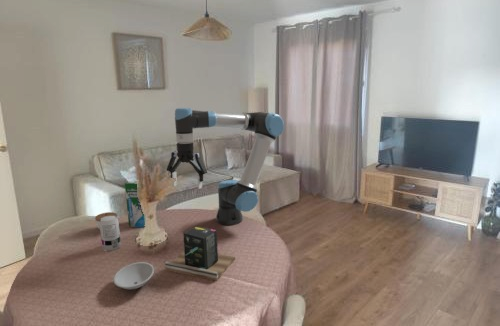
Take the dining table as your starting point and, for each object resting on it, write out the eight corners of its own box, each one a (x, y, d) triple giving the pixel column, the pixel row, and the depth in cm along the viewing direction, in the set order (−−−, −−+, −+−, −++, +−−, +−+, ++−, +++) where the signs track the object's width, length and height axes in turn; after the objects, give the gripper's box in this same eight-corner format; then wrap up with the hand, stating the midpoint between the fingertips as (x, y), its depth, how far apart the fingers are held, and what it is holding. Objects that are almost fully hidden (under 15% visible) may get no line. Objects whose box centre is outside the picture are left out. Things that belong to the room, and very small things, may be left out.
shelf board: (188, 250, 155) (187, 243, 155) (235, 259, 147) (235, 252, 146) (165, 269, 139) (164, 262, 138) (216, 280, 130) (216, 273, 130)
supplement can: (98, 250, 157) (95, 220, 153) (111, 242, 164) (108, 214, 161) (112, 253, 154) (108, 222, 150) (124, 245, 161) (121, 216, 158)
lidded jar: (103, 224, 186) (102, 209, 184) (121, 225, 184) (120, 209, 182) (92, 232, 175) (90, 216, 173) (111, 233, 174) (109, 217, 172)
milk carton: (151, 220, 190) (147, 178, 185) (144, 227, 182) (140, 183, 176) (136, 220, 191) (132, 178, 186) (128, 226, 183) (124, 183, 177)
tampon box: (218, 261, 143) (217, 229, 140) (205, 271, 135) (203, 238, 132) (198, 255, 148) (196, 224, 145) (184, 264, 140) (182, 232, 137)
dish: (124, 273, 137) (123, 262, 136) (159, 272, 137) (158, 261, 136) (107, 300, 119) (106, 287, 118) (147, 299, 120) (146, 286, 119)
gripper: (157, 142, 153) (160, 186, 157) (205, 144, 144) (207, 191, 149) (166, 139, 159) (169, 182, 164) (213, 142, 151) (214, 187, 155)
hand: (187, 186), depth 156 cm, fingers open, 13 cm apart
